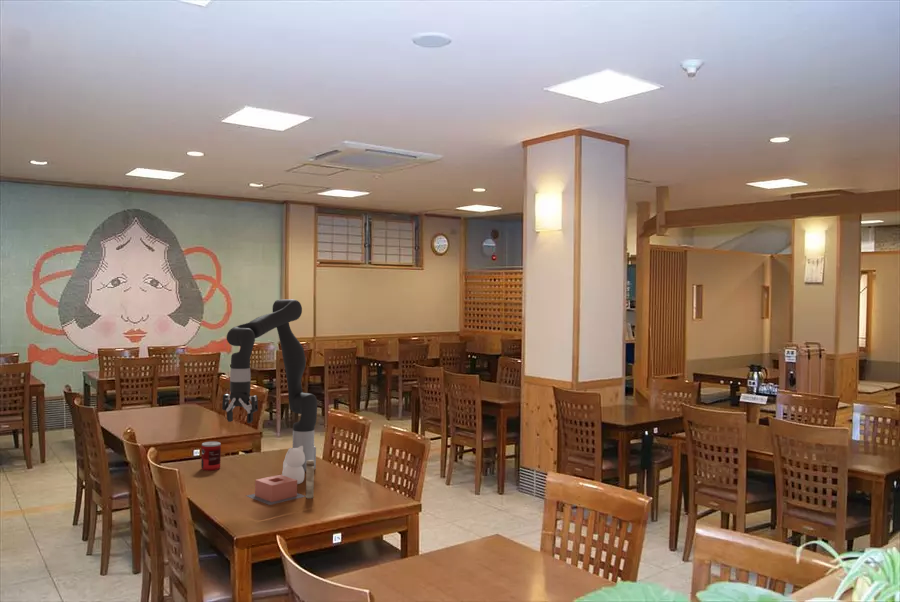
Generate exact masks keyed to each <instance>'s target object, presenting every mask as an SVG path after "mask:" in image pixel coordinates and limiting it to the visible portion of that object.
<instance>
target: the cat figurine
mask: <svg viewBox="0 0 900 602" xmlns="http://www.w3.org/2000/svg"><path fill="white" fill-rule="evenodd" d="M284 457H285V458H284V460H283V463H282V472H281V475H283V476H286V477H289V478H292V479H295V480H297V485H299V484H302V483H303V482H304V481H305V475H306V473H305V472H304V469H303V467H302V465H303V464H304V462H305V455H304V452H303V446H300V447H298V448H293V447H289V448H288V450H287V452H286V454H285V456H284Z"/></svg>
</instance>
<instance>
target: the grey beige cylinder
mask: <svg viewBox="0 0 900 602" xmlns="http://www.w3.org/2000/svg"><path fill="white" fill-rule="evenodd" d="M305 472H306V473H305V477H306V478H305V496H306V497H305V498H306V499H308V500H310V499H314V488H315V487H314V484H315V469H314V460H307V461H306V471H305Z"/></svg>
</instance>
